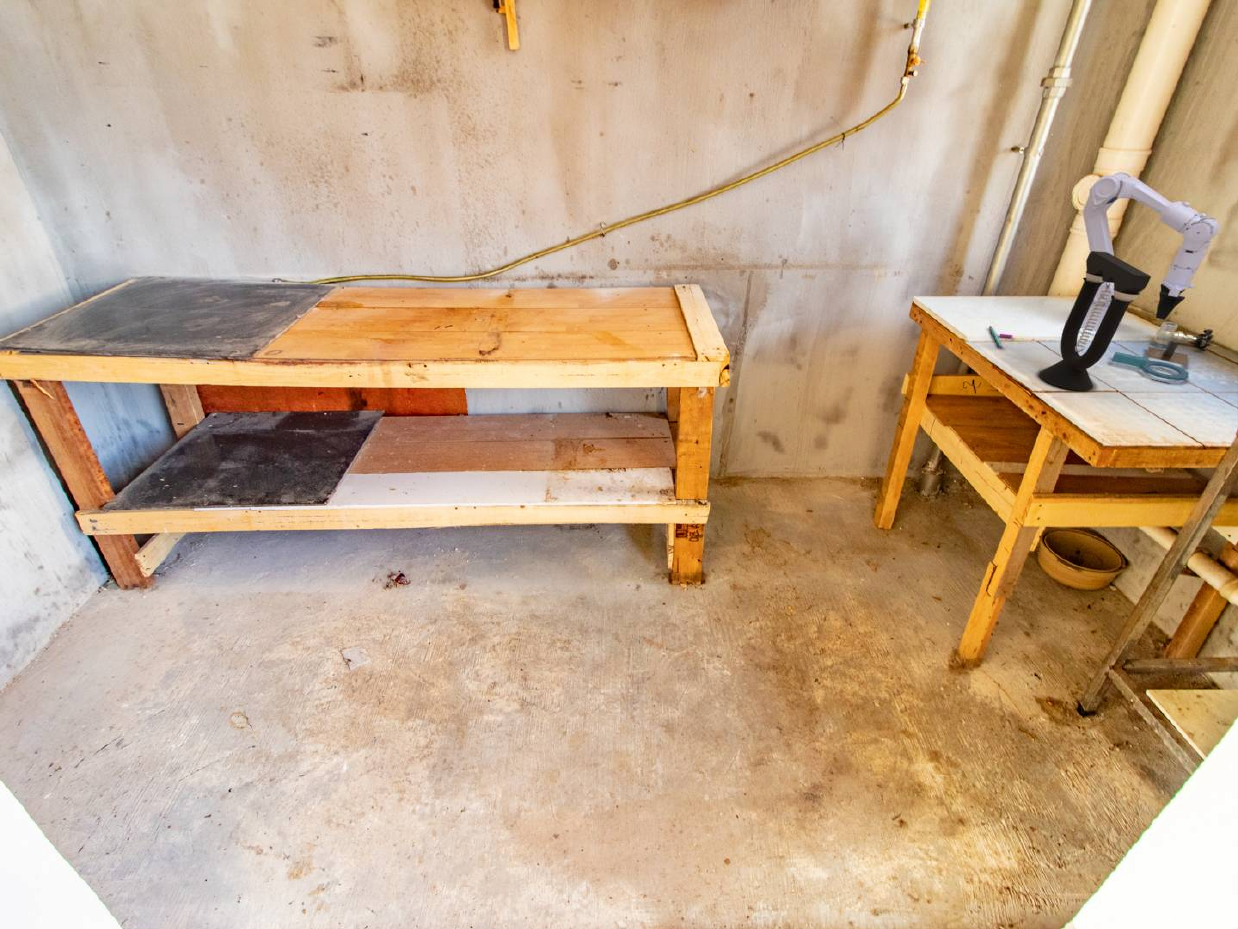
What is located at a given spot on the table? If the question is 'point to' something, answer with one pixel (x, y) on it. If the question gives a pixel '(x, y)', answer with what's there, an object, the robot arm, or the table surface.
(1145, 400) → the table surface
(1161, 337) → the valve
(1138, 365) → the ring
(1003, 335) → the squeegee
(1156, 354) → the ring stand
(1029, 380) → the table surface
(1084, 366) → the spring support
